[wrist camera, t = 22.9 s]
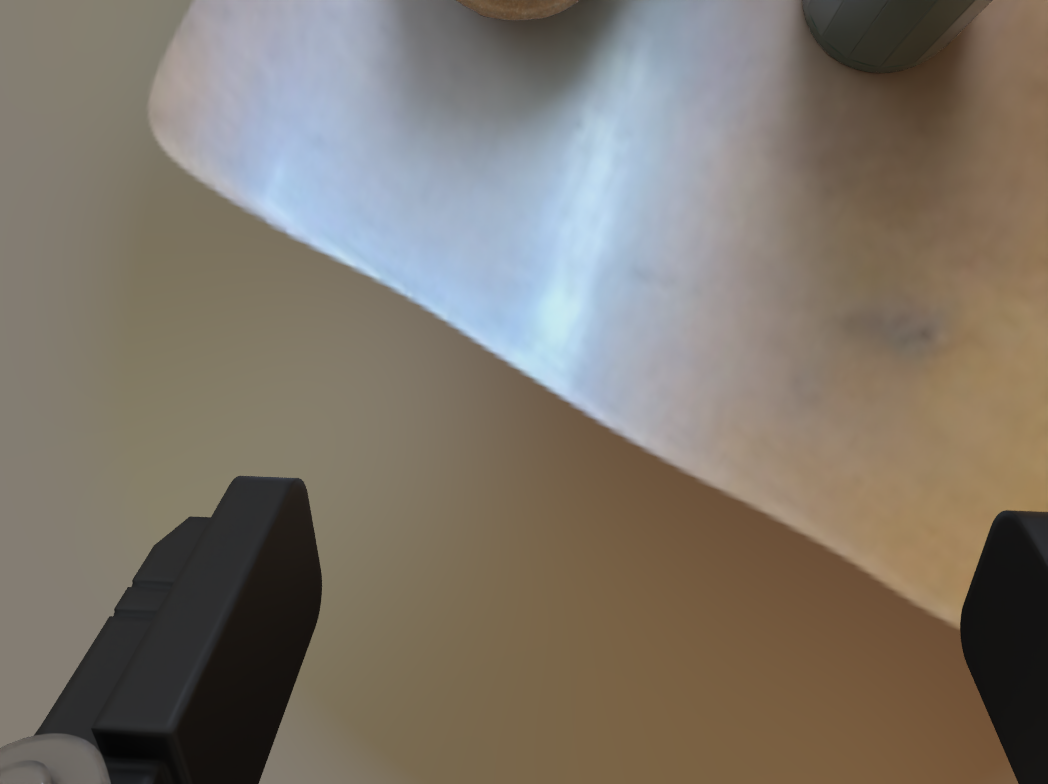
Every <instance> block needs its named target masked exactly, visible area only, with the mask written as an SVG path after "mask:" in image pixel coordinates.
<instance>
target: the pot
mask: <svg viewBox="0 0 1048 784" xmlns="http://www.w3.org/2000/svg"><path fill="white" fill-rule="evenodd" d="M992 1H993V0H802V4H803V11H804V15H805V19H806V22H807V24H808V27H809V29H810V31H811V33H812V34H813V36H814V38H815V39H816V41H817V42H818V43H819V45H820V46H821V47H822V48H823V49H824V50H825V51H826V52H827V53H828V54H829V55H830V56H832V57H833V58H835V59H836V60H837V61H839V62H841V63H843V64H845V65H847V66H849V67H852V68H855V69H857V70H861V71H866V72H874V73H890V72H896V71H902V70H905V69H908V68H912V67H914V66H916V65H919V64H921V63H923V62H925V61H926V60H928V59H930V58H931V57H933V56H934V55H935V54H937V53H938V52H939V51H941V50H942V49H943V48H944V47H946V46H947V45H948V44H949V43H950V42H951V41H952V40H953V39H954V38H955V37H956V36H957V35H958V34H959V33H960V32H961V31H962V30H963V29H964V28H965V27H966V26H967V25H968V24H969V23H970V22H971V21H972V20H973V19H974V18H975V17H976V16H977V15H979V14H980V13H981V12H982V11H983V10H984V9H985V8H986V7H987V6H988V5H989V4H990V3H991V2H992Z"/></svg>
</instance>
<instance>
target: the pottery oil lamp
mask: <svg viewBox="0 0 1048 784" xmlns="http://www.w3.org/2000/svg"><path fill="white" fill-rule="evenodd" d="M456 1H458V2H459V3H461V4H462V5H464V6H466V7H468V8H470V9H472V10H474V11H475V12H477V13H478V14H480V15H482V16H485V17H488V18H495V19H502V20H530V19H539V18H545V17H549V16H552V15H555V14H557V13H559V12H562V11H564V10H566V9H568V8H569V7H571V6H572V5H574V4H576V3H577V2H578V1H579V0H456Z"/></svg>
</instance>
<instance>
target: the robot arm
mask: <svg viewBox="0 0 1048 784" xmlns="http://www.w3.org/2000/svg"><path fill="white" fill-rule="evenodd" d="M321 595H322V576H321V568H320V562H319V557H318V551H317V545H316V539H315V533H314V528H313V522H312V516H311V510H310V505H309V499H308V493H307V489H306V486H305V484H304V482H303V481H302V480H301V479H299V478H279V477H255V476H238V477H236V478H235V479H234V480H233V481H232V482H231V484H230V485H229V487H228V489H227V491H226V493H225V494H224V496H223V497H222V499H221V501H220V503H219V504H218V506H217V508H216V510H215V511H214V513H213V515H212V517H211V518H208V517H189V518H188V519H186V520H185V521H184V522H183V523H181V524H180V525H179V526H178V527H176V528H175V529H174V530H173V531H172V532H170V533H169V534H168V535H167V536H165V537H164V538H163V539H162V540H160V541H159V542H158V543H157V544H155V545H154V547H153V548H152V550H151V551H150V553H149V555H148V556H147V558H146V559H145V561H144V563H143V564H142V566H141V567H140V569H139V570H138V572H137V574H136V575H135V577H134V578H133V584H132V587H128V588H127V590H126V591H125V593H124V594H123V596H122V598H121V599H120V601H119V602H118V604H117V606H116V607H115V609H114V610H115V613H114V616H113V617H109V618H108V620H107V621H106V623H105V625H104V626H103V628H102V629H101V631H100V633H99V634H98V636H97V638H96V639H95V640H94V642H93V644H92V645H91V647H90V649H89V650H88V652H87V653H86V655H85V656H84V658H83V660H82V661H81V663H80V664H79V666H78V668H77V669H76V671H75V672H74V674H73V676H72V677H71V679H70V680H69V682H68V683H67V685H66V687H65V688H64V690H63V691H62V693H61V695H60V696H59V698H58V699H57V701H56V703H55V704H54V706H53V707H52V709H51V711H50V712H49V714H48V715H47V717H46V719H45V720H44V722H43V723H42V725H41V727H40V728H39V729H38V731H37V732H36V733H35V735H34V736H32V737H27V738H23V739H21V740H18V741H15V742H13V743H10V744H8V745H6V746H4V747H1V748H0V784H258V783H259V781H260V778H261V775H262V772H263V769H264V767H265V764H266V761H267V759H268V756H269V753H270V750H271V747H272V745H273V742H274V739H275V737H276V734H277V731H278V728H279V725H280V723H281V720H282V717H283V715H284V712H285V709H286V706H287V703H288V701H289V698H290V695H291V692H292V690H293V687H294V684H295V682H296V678H297V676H298V673H299V670H300V667H301V665H302V662H303V659H304V657H305V654H306V651H307V648H308V646H309V643H310V640H311V637H312V634H313V632H314V629H315V626H316V623H317V619H318V615H319V611H320V604H321ZM960 632H961V642H962V649H963V653H964V657H965V660H966V663H967V665H968V668H969V670H970V672H971V674H972V677H973V679H974V681H975V684H976V686H977V688H978V691H979V693H980V695H981V698H982V700H983V702H984V705H985V707H986V709H987V712H988V714H989V716H990V718H991V721H992V723H993V725H994V728H995V730H996V732H997V735H998V737H999V739H1000V742H1001V744H1002V746H1003V748H1004V751H1005V753H1006V756H1007V757H1008V760H1009V762H1010V765H1011V767H1012V769H1013V772H1014V774H1015V776H1016V778H1017V781H1018V783H1019V784H1048V512H1032V511H1008V510H1006V511H1002V512H1001V513H999V514H998V515H997V516H996V518H995V519H994V521H993V523H992V526H991V528H990V531H989V534H988V537H987V540H986V542H985V545H984V548H983V551H982V554H981V556H980V559H979V562H978V565H977V568H976V571H975V573H974V576H973V579H972V582H971V585H970V588H969V590H968V593H967V596H966V599H965V602H964V605H963V608H962V614H961V622H960Z"/></svg>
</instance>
